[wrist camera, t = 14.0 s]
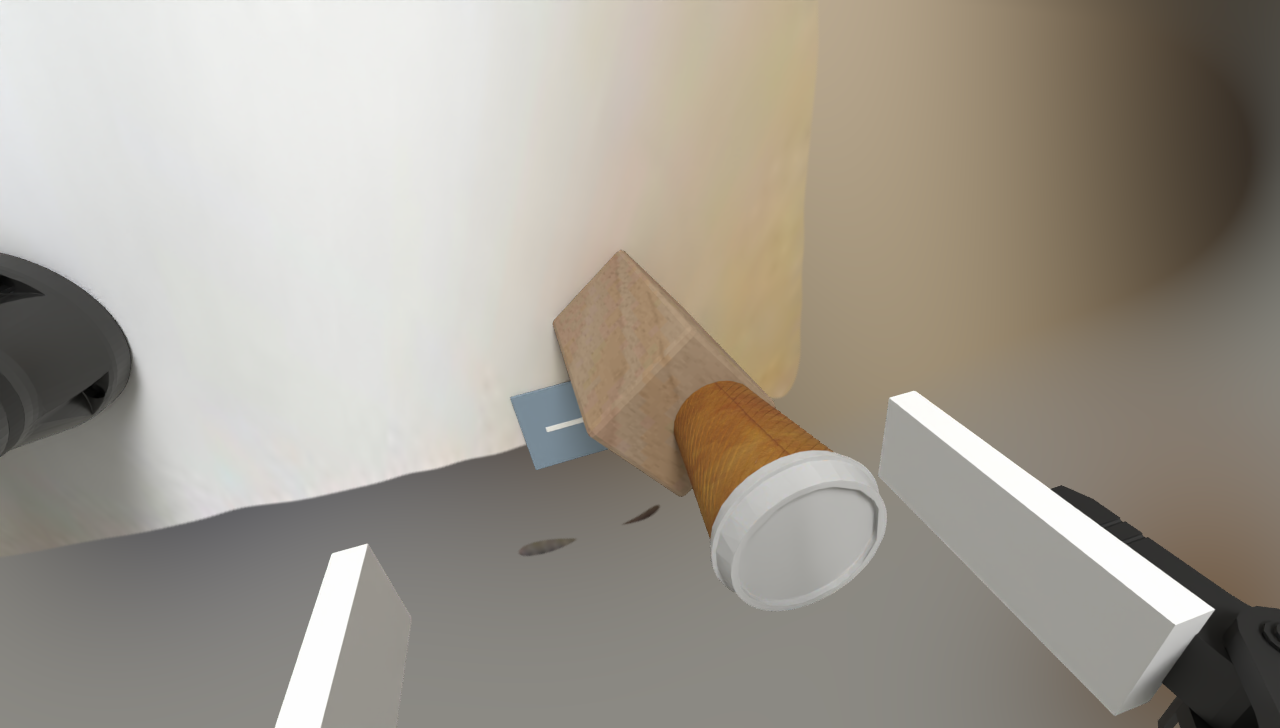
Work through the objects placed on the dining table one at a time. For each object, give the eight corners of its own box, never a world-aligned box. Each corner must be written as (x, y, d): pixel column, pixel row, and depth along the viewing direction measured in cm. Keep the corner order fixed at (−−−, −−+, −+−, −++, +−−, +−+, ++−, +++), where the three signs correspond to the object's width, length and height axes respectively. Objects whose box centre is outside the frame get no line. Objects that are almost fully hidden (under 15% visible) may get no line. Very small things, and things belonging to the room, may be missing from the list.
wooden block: (620, 377, 56) (682, 501, 38) (549, 322, 51) (585, 436, 34) (685, 310, 54) (780, 408, 37) (619, 246, 49) (694, 326, 32)
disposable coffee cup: (747, 481, 39) (841, 617, 29) (632, 468, 36) (692, 618, 25) (800, 371, 36) (928, 481, 26) (679, 345, 32) (771, 461, 22)
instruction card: (535, 468, 59) (536, 470, 59) (510, 397, 54) (510, 399, 54) (684, 425, 61) (685, 427, 61) (673, 353, 56) (675, 354, 56)
